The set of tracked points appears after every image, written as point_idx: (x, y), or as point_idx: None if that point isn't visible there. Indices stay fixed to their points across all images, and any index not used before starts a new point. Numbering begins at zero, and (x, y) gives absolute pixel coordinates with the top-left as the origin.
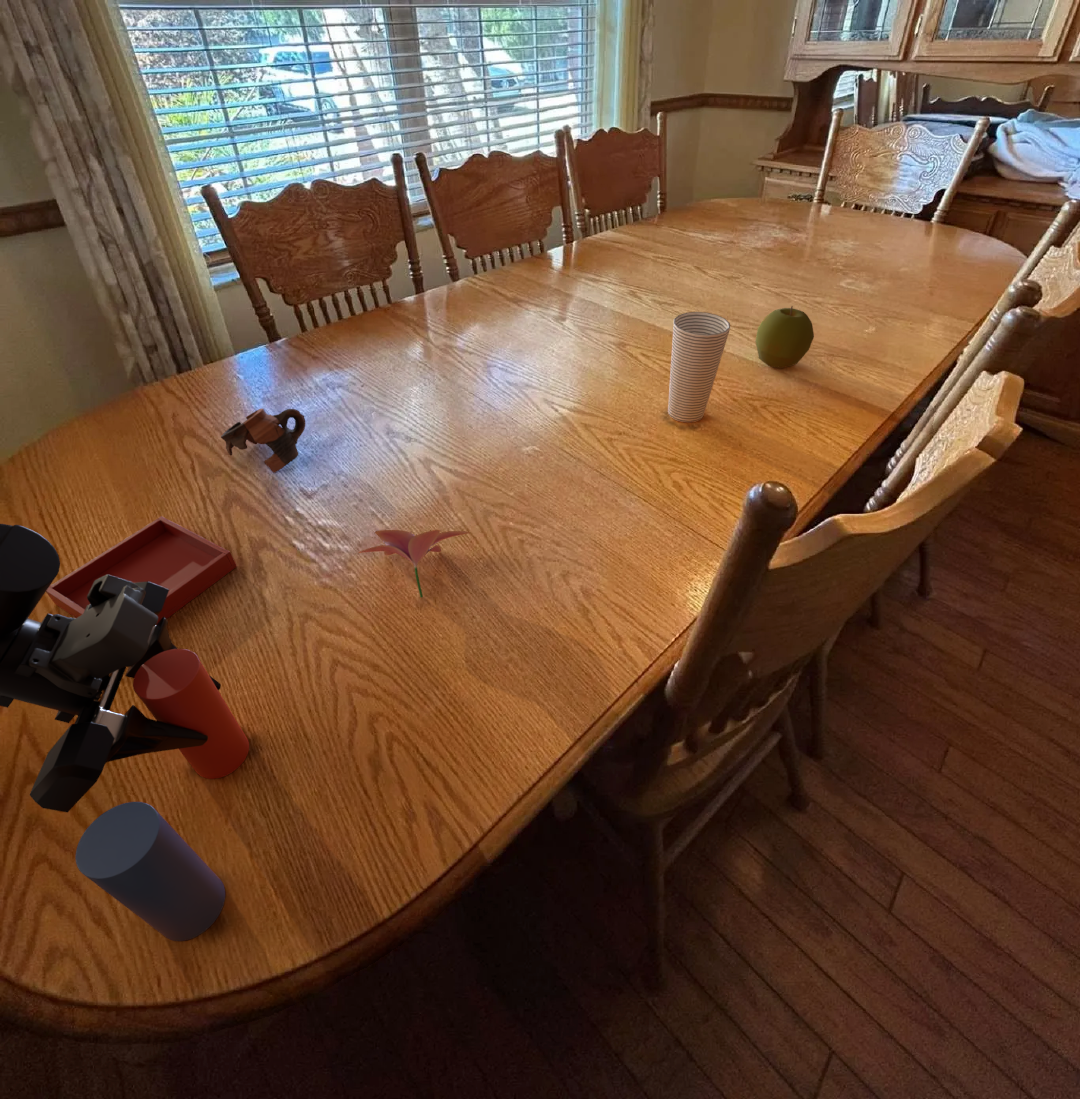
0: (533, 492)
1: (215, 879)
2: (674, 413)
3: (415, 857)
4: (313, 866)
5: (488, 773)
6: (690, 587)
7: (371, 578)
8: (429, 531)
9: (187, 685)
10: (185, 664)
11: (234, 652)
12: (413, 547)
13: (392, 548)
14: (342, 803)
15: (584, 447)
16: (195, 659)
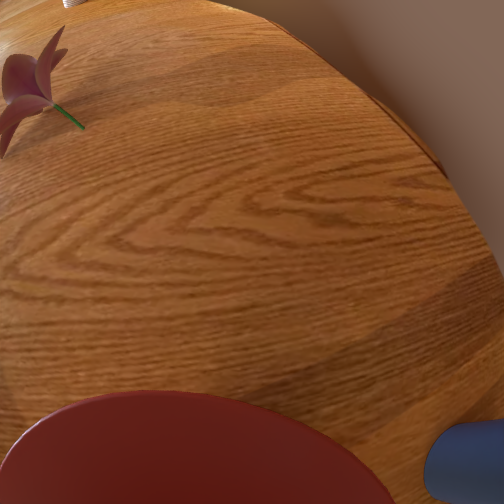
0: None
1: (475, 424)
2: (74, 1)
3: (446, 210)
4: (449, 315)
5: (367, 129)
6: (224, 8)
7: (14, 178)
8: (55, 35)
9: (367, 469)
10: (137, 488)
11: (14, 392)
12: (40, 79)
13: (18, 102)
14: (380, 271)
15: (46, 34)
16: (118, 414)
